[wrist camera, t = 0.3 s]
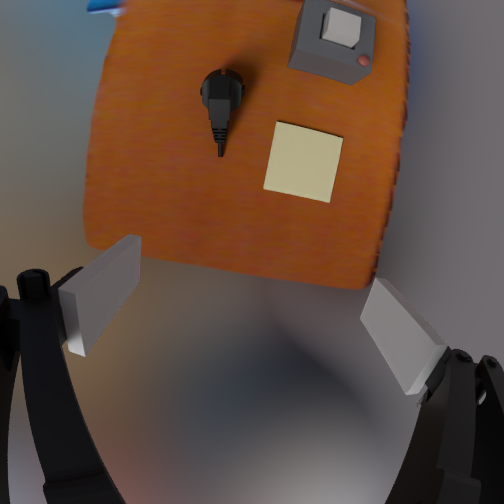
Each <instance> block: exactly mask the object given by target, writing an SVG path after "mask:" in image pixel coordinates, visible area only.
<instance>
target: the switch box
mask: <svg viewBox="0 0 504 504" xmlns="http://www.w3.org/2000/svg"><path fill="white" fill-rule="evenodd" d="M331 7H332V8H335V9H338V10H341V11H344V12H347V13H350V14H353V15H356V16H358V17H361V26H360V36H359V41H358V42H357V43H356V44H355V45H354V46H353V47H352V48H351V49H350V48H347V47H344V46H341V45H338V44H335V43H332V42H328V41H325V40H322V39H320V37H321V31H322V25H323V20H324V18H325V16H326V15H327V13H328V11H329V10H330V8H331ZM375 25H376V18H375V17H373V16H370V15H368V14H365V13H363V12H360V11H357V10H355V9H352V8H349V7H346V6H343V5H340V4H337V3H334V2H331V1H328V0H304V2H303V5H302V7H301V10H300V12H299V15H298V17H297V22H296V27H295V32H294V37H293V42H292V47H291V52H290V57H289V62H288V68H292V69H296V70H300V71H304V72H308V73H312V74H316V75H319V76H323V77H326V78H330V79H333V80H336V81H339V82H342V83H345V84H348V85H353V84H354V83H356V82H357V81H359V80H361V79H362V78H364V77H365V76H367V75H369V74H370V73H371V69H372V60H373V50H374V39H375Z"/></svg>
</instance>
